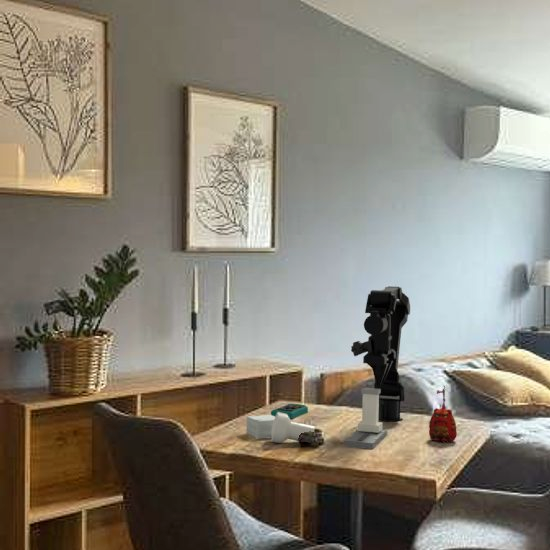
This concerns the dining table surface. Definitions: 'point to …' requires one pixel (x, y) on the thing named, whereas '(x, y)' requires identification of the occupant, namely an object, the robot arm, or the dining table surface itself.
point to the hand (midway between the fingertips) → (379, 385)
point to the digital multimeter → (291, 410)
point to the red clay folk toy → (442, 424)
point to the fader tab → (370, 411)
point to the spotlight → (287, 428)
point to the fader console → (365, 439)
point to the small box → (259, 426)
